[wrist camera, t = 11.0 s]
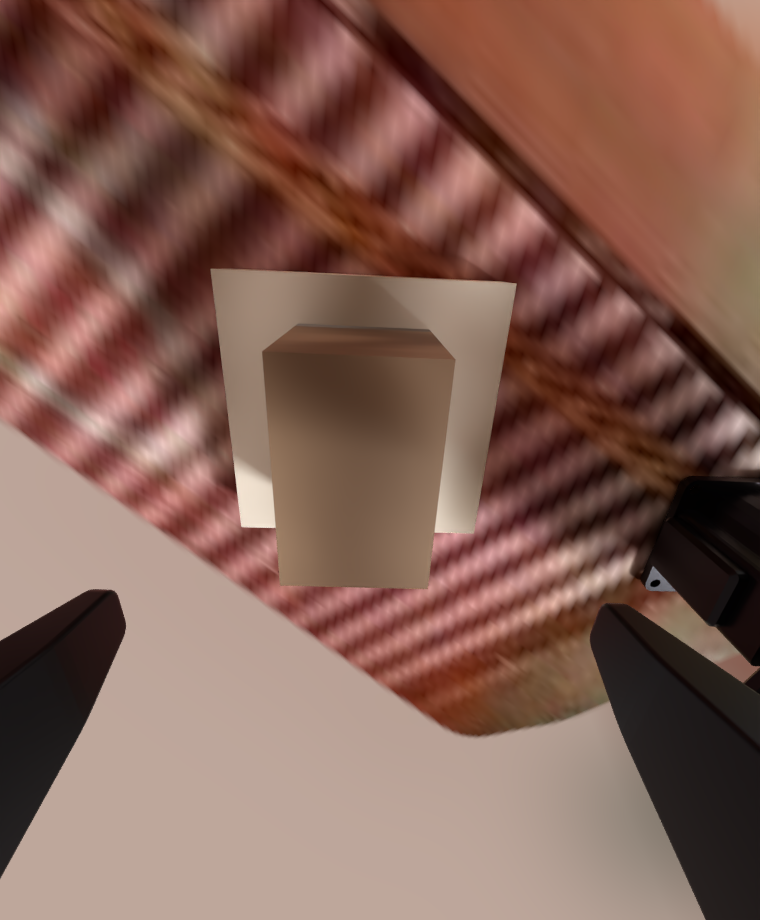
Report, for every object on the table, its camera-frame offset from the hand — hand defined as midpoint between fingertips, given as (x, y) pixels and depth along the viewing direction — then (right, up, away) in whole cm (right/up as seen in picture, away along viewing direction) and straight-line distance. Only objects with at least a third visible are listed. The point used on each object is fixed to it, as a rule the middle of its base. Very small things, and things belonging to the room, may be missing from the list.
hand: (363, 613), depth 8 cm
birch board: (0, +5, +10) cm, 11 cm away
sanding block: (0, +4, +8) cm, 9 cm away
